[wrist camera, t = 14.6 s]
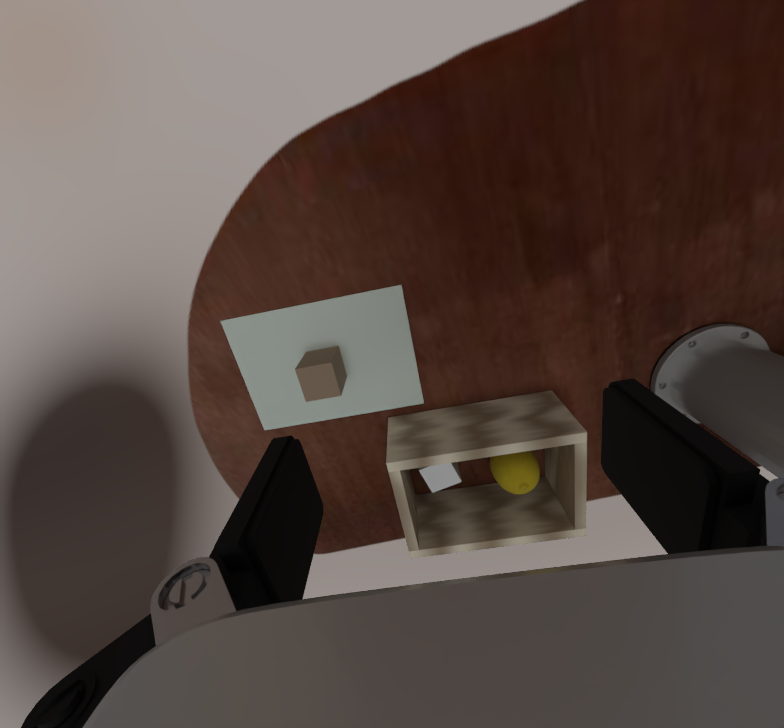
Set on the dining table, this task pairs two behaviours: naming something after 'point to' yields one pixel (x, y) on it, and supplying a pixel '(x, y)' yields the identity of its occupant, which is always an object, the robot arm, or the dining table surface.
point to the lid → (327, 358)
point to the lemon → (516, 471)
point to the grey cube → (441, 475)
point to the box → (491, 502)
